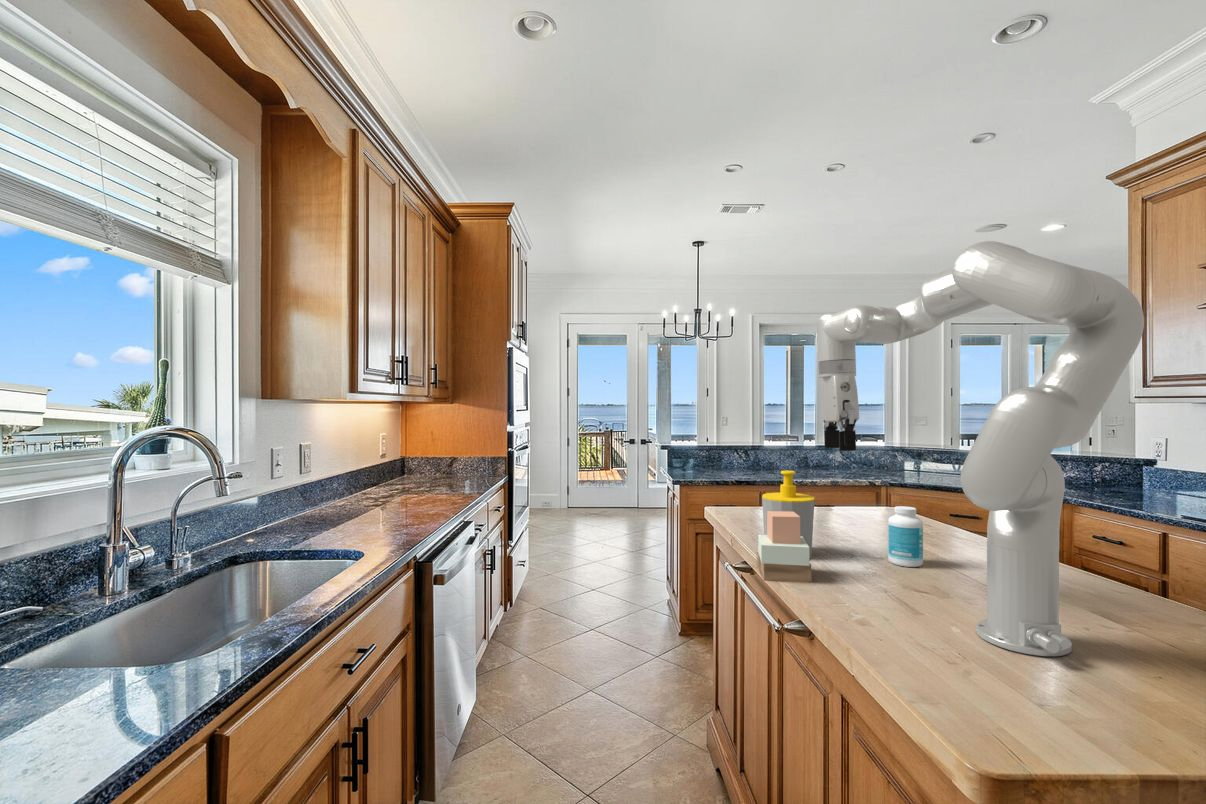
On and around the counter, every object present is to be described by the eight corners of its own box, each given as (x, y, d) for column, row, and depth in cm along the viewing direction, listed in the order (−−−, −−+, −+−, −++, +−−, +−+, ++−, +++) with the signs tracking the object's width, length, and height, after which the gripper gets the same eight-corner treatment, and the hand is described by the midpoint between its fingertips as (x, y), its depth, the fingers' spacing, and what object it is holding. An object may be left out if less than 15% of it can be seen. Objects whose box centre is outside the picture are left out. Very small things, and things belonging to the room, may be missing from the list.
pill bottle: (927, 569, 132) (927, 511, 132) (893, 567, 134) (893, 510, 134) (916, 560, 140) (916, 505, 140) (884, 558, 141) (884, 504, 141)
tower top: (809, 565, 123) (809, 547, 123) (761, 563, 125) (761, 545, 125) (802, 553, 132) (802, 536, 132) (758, 551, 134) (758, 534, 134)
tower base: (811, 583, 123) (811, 565, 123) (764, 581, 124) (764, 563, 124) (800, 569, 133) (800, 552, 133) (756, 568, 134) (756, 551, 134)
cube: (800, 543, 126) (800, 516, 125) (772, 543, 126) (772, 516, 126) (793, 537, 131) (793, 511, 131) (767, 536, 132) (767, 511, 132)
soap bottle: (820, 551, 148) (820, 470, 148) (808, 563, 137) (808, 475, 137) (769, 544, 155) (769, 467, 155) (755, 555, 144) (755, 472, 144)
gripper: (870, 366, 114) (873, 451, 113) (841, 372, 131) (843, 446, 131) (832, 367, 114) (835, 452, 114) (808, 373, 132) (810, 447, 131)
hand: (839, 449), depth 122 cm, fingers open, 9 cm apart
